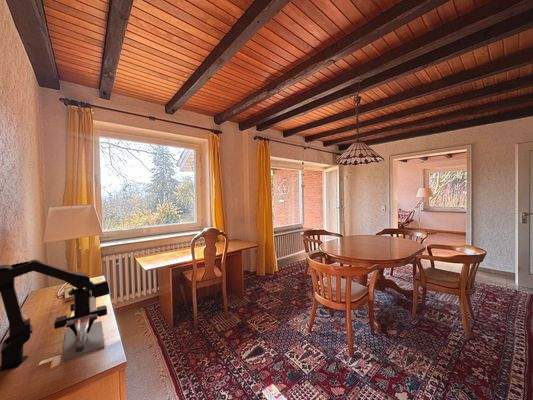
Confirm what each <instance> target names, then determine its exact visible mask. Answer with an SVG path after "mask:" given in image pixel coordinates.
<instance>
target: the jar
mask: <svg viewBox="0 0 533 400" xmlns="http://www.w3.org/2000/svg"><path fill="white" fill-rule="evenodd" d="M89 292H90V312H91V311H94V310H97V298H94V296H92V297H91V290H90V291H89Z"/></svg>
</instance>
